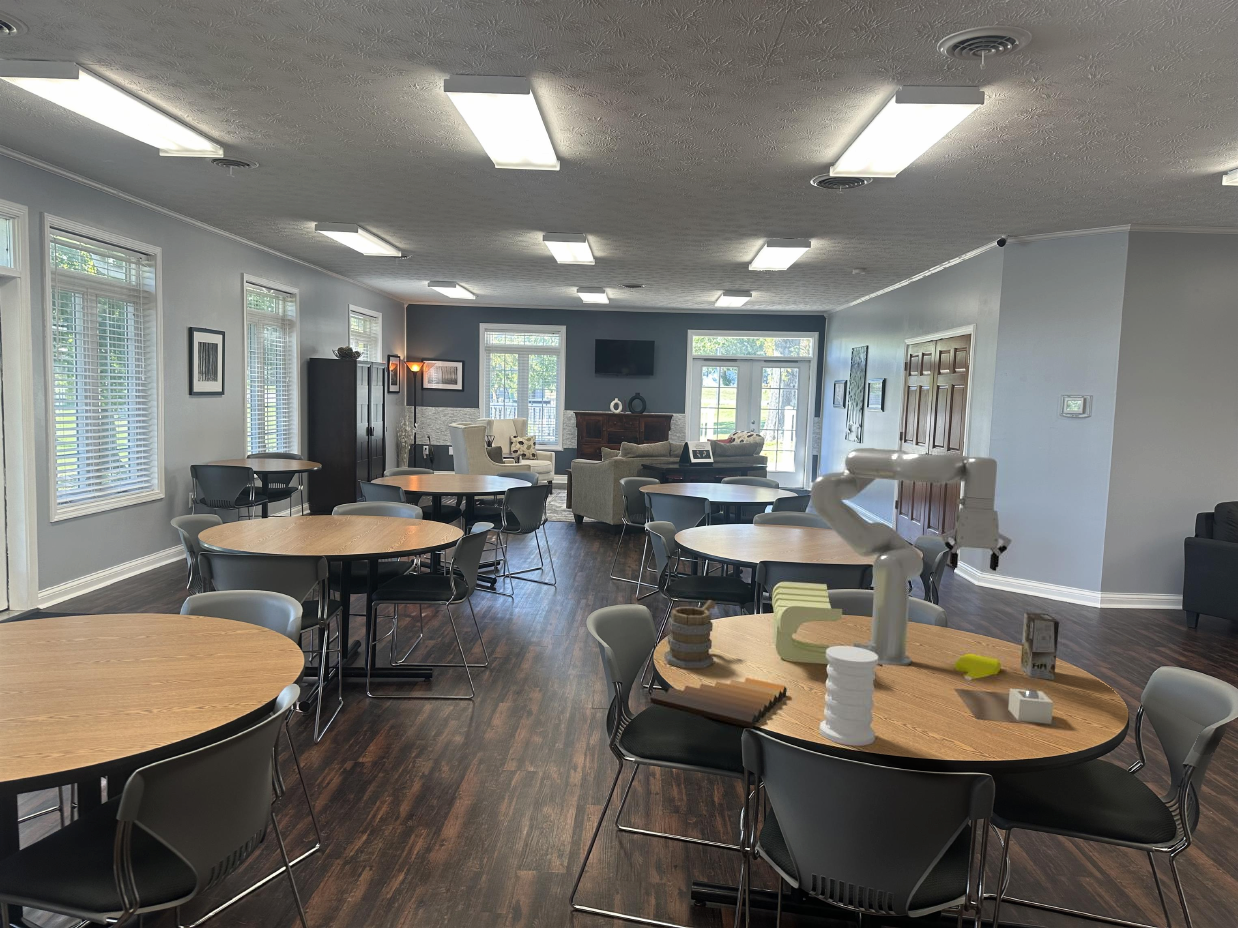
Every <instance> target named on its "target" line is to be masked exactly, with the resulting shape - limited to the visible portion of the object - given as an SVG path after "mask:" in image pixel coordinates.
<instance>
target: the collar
mask: <svg viewBox="0 0 1238 928" xmlns="http://www.w3.org/2000/svg"><path fill="white" fill-rule="evenodd" d="M1036 691H1037V699H1030V698H1025V692H1026V689H1019V688H1018V689H1017V688H1009V707H1008V709H1009V710H1010V712H1011V713H1012V714H1013V715H1014V716H1015V717H1016V719H1017V720H1018V721H1027V722H1037V723H1047V724H1051V721H1052V718H1053V705H1054V702H1053V701H1052V700H1051V699H1050V698H1049V697H1048V695H1046V694H1045V693H1044V692H1043V691H1041V690H1040V691H1039V690H1036Z"/></svg>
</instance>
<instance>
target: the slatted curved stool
mask: <svg viewBox="0 0 1238 928" xmlns="http://www.w3.org/2000/svg"><path fill="white" fill-rule="evenodd" d="M771 597H772V599H771V600H772V601H771V605H772V608H773V609H772V610H773V627H772V629H773V630H772V631H773V632H772V636H773V637H772V638H773V642H774V647H775V649H776V652H777V655H778V656H779V657H780V658H782V659H783V660H784V661H788V662H796V663H809V664H822V665H823V664H825V665H828V664H829V660H828V659H827V658H826V650H827V649H828V648H830V647H829V645H828V644H823V643H822V644H821V643H813V642H812V643H811V642H807V641H801V640H799V639H796V638H794V637H793V634H797V633H798V630H799V628H800V626H801V625H803V624H805V623H809V622H811V623H812V622H838V621H840V620H842V618H843V609H842V608H832V606H831V603H830V599H829V592H828V587H827V584H826V583H823V584H822V583H810V582H809V583H808V582H793V581H781V582H778V583H777V584H776V585H775V586H774V587H773V590H772V596H771Z"/></svg>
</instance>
